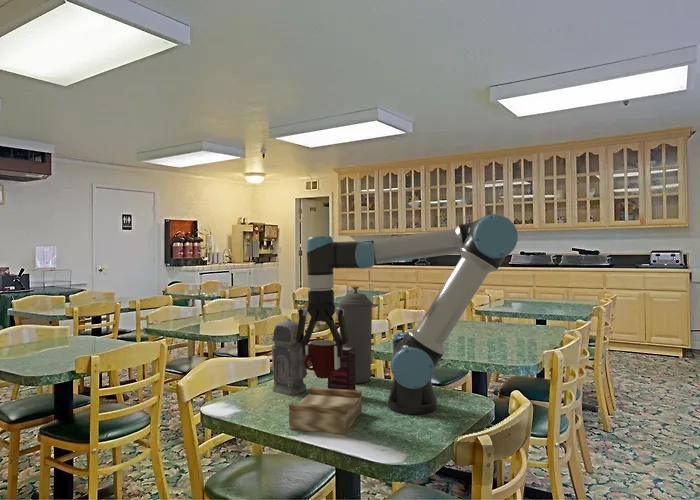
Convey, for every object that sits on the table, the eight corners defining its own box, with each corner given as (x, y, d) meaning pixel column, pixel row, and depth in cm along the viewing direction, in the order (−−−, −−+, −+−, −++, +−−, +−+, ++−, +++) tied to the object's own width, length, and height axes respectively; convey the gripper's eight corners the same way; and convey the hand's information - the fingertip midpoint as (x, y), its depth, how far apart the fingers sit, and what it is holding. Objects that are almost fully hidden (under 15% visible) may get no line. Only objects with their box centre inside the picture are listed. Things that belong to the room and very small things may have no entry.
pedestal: (361, 412, 151) (361, 390, 151) (345, 433, 134) (344, 409, 134) (311, 408, 156) (311, 387, 155) (289, 428, 138) (288, 404, 138)
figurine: (296, 396, 168) (296, 321, 167) (265, 390, 176) (265, 318, 176) (314, 389, 176) (314, 318, 175) (284, 383, 184) (283, 315, 184)
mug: (315, 383, 140) (315, 348, 140) (297, 378, 146) (297, 343, 145) (342, 377, 147) (343, 343, 147) (324, 371, 153) (325, 338, 153)
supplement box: (356, 394, 170) (356, 347, 169) (349, 398, 165) (348, 350, 165) (334, 391, 174) (334, 345, 174) (326, 394, 170) (326, 347, 170)
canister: (334, 383, 183) (334, 287, 183) (344, 374, 196) (343, 285, 196) (368, 385, 180) (368, 288, 180) (376, 376, 192) (375, 285, 192)
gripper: (359, 288, 146) (361, 366, 147) (292, 288, 153) (294, 363, 153) (351, 290, 139) (353, 372, 139) (282, 290, 145) (284, 369, 145)
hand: (323, 367), depth 146 cm, fingers closed on mug, 8 cm apart
